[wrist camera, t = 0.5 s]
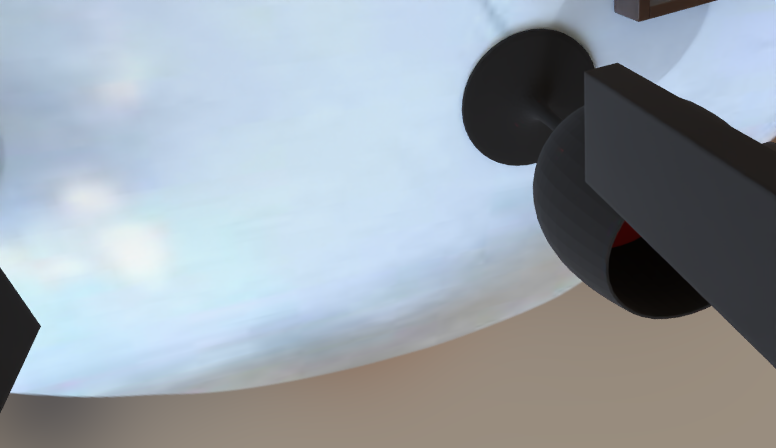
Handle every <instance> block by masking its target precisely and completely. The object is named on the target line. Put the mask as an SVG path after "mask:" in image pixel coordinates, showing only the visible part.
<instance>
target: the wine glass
mask: <svg viewBox="0 0 776 448" xmlns="http://www.w3.org/2000/svg"><path fill="white" fill-rule="evenodd" d="M592 69H595V68H594V65H593V62H592V60H591V58H590V56H589V54H588V53H587V52H586V50H585V49H584V48H583V47H582V46H581V45H580V44H579V43H578V42H577V41H576V40H574V39H573V38H571V37H569V36H567V35H566V34H564V33H561V32H557V31H554V30H547V29H533V30H528V31H524V32H520V33H517V34H515V35H512V36H510V37H508V38H506V39H504V40H503V41H501V42H499V43H498V44H497V45H496V46H494V47H493V48H492V49H490V50H489V51H488V52H487V53H486V54H485V55H484V56H483V57H482V59H481V60H480V61H479V63H478V64H477V65H476V67H475V68H474V70H473V72H472V74H471V75H470V77H469V80H468V82H467V85H466V87H465V91H464V96H463V102H462V116H463V123H464V126H465V130H466V132H467V134H468V136H469V138H470V140H471V141H472V143H473V144H474V146H475V147H476V148H477V149H478V150H479V151H480V152H481V153H482V154H483V155H485V156H486V157H488V158H489V159H491V160H494V161H496V162H498V163H502V164H506V165H515V166H520V165H529V164H534V163H537V165H536V168H535V174H534V181H533V198H534V205H535V210H536V214H537V219H538V221H539V224H540V226H541V229H542V231H543V233H544V235H545V237H546V239H547V241H548V243H549V244H550V246H551V247H552V249H553V250H554V251H555V253H556V254H557V255H558V257H559V258H560V260H561V261H562V262H563V263H564V264H565V265H566V266H567V267H568V268H569V270H571V271H572V272H573V273H574V274H575V275H576V276H577V277H578V278H579V279H581V280H582V281H583V282H584V283H585V284H587V285H588V286H589V287H590V288H592V289H593V290H595V291H596V292H597V293H599V294H600V295H602V296H603V297H605V298H607V299H608V300H610V301H611V302H613V303H615V304H617V305H618V306H620V307H622V308H624V309H625V310H627V311H629V312H631V313H633V314H636V315H639V316H641V317H646V318H651V319H668V318H676V317H682V316H685V315H689V314H693V313H696V312H698V311H701V310H703V309H706V308H708V307H710V306H712V305H711V304H710V303H709V302H708V301H707V300H705V299H704V298H703V297H702V296H701V295H700V294H699V293H698V292H697V291H696V290H695V289H694V288H693V287H692V286H691V285H690V284H689V283H688V282H687V281H686V280H685V279H684V278H683V277H682V276H681V275H680V274H679V273H678V272H677V271H676V270H675V269H674V268H673V267H672V266H671V265H670V264H669V263H668V262H667V261H666V260H665V259H664V258H663V257H662V256H661V255H660V254H659V253H658V252H657V251H656V250H655V249H654V248H652V247H651V246H650V245H649V244H648V243H647V242H646V241H645V240H644V239H643V238H642V237H641V236H640V235H639V234H638V233H637V232H636V231H635V230H634V229H633V228H632V227H631V226H630V225H629V224H628V223H627V222H626V221H625V220H624V219H623V218H622V217H621V216H620V215H619V214H618V213H617V212H616V211H615V210H614V209H613V208H612V207H611V206H610V205H609V204H608V203H607V202H606V201H605V200H604V199H603V198H602V197H601V196H600V195H598V194H597V193H596V192H595V191H594V190H593V189H592V188H591V187H590V186H589V185H588V184H587V183H586V182H585V108H584V71H588V70H592ZM681 99H682V98H681ZM683 100H685V99H683ZM685 101H686V102H688V103H690V104H692V105H694V106H695V107H697V108H699V109H701V110H702V111H704V112H706V113H708V114H710V115H711V116H713V117H715V118H717V119H718V120H720V121H722V122H724V123H726V122H725V121H724V120H722V119H721V118H719V117H718V116H716V115H715V114H713V113H711V112H710V111H708V110H706V109H704V108H703V107H701V106H699V105H697V104H695V103H693V102H691V101H688V100H685ZM726 124H727V123H726ZM727 125H729V124H727ZM729 126H730V125H729Z"/></svg>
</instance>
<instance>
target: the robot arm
mask: <svg viewBox="0 0 776 448" xmlns="http://www.w3.org/2000/svg"><path fill="white" fill-rule="evenodd" d="M584 108H585V182H586V183H587V184H588V185H589V186H590V187H591V188H592V189H593V190H594V191H595V192H596V193H597V194H598V195H600V196H601V197H602V198H603V199H604V200H605V201H606V202H607V203H608V204H609V205H610V206H611V207H612V208H613V209H614V210H615V211H616V212H617V213H618V214H619V215H620V216H621V217H622V218H623V219H624V220H625V221H626V222H627V223H628V224H629V225H630V226H631V227H632V228H633V229H634V230H635V231H636V232H637V233H638V234H639V235H640V236H641V237H642V238H643V239H644V240H645V241H646V242H647V243H648V244H649V245H650V246H651V247H652V248H654V249H655V250H656V251H657V252H658V253H659V254H660V255H661V256H662V257H663V258H664V259H665V260H666V261H667V262H668V263H669V264H670V265H671V266H672V267H673V268H674V269H675V270H676V271H677V272H678V273H679V274H680V275H681V276H682V277H683V278H684V279H685V280H686V281H687V282H688V283H689V284H690V285H691V286H692V287H693V288H694V289H695V290H696V291H697V292H698V293H699V294H700V295H701V296H702V297H703V298H704V299H705V300H707V301H708V302H709V303H710V304H711V305H712V306H713V307H714V308H715V309H716V310H717V311H718V312H719V313H720V314H721V315H722V316H723V317H724V318H725V319H726V320H727V321H728V322H729V323H730V324H731V325H732V326H733V327H734V328H735V329H736V330H737V331H738V332H739V333H740V334H741V335H742V336H743V337H744V338H745V339H746V340H747V341H748V342H749V343H750V344H751V345H752V346H753V347H754V348H755V349H756V350H757V351H758V352H760V353H761V354H762V355H763V356H764V357H765V358H766V359H767V360H768V361H769V362H770V363H771V364H772V365H773V366H774V367H775V368H776V143H774V142H766V143H763V144H761V143H759V142H757V141H756V140H754V139H752V138H750V137H749V136H747V135H745V134H743V133H741V132H740V131H738V130H736V129H734V128H733V127H731V126H729V125H727V124H726V123H724V122H722V121H720V120H718V119H717V118H715V117H713V116H711V115H710V114H708V113H706V112H704V111H702V110H701V109H699V108H697V107H695V106H694V105H692V104H690V103H688V102H686V101H685V100H683V99H681V98H679V97H678V96H676V95H674V94H672V93H670V92H669V91H667V90H665V89H663V88H662V87H660V86H658V85H656V84H654V83H653V82H651V81H649V80H647V79H646V78H644V77H642V76H640V75H638V74H637V73H635V72H633V71H631V70H630V69H628V68H626V67H624V66H622V65H621V64H619V63H615V64H611V65H608V66H604V67H600V68H596V69H592V70H588V71H584ZM40 327H41V326H40V324H39V323H38V321H37V320H36V319H35V317H34V316H33V314H32V313H31V311H30V310H29V308H28V307H27V305H26V304H25V303H24V301H23V300H22V298H21V297H20V295H19V294H18V292H17V291H16V290H15V288H14V287H13V285H12V284H11V282H10V281H9V279H8V278H7V277H6V275H5V274H4V272H3V271H2V269H1V268H0V412H1V410H2V408H3V406H4V404H5V402H6V400H7V398H8V395H9V393H10V391H11V389H12V387H13V385H14V383H15V380H16V378H17V376H18V374H19V372H20V370H21V368H22V365H23V363H24V361H25V359H26V357H27V355H28V353H29V350H30V348H31V346H32V344H33V342H34V340H35V338H36V335H37V333H38V331H39V329H40Z"/></svg>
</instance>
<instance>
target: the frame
mask: <svg viewBox="0 0 776 448" xmlns="http://www.w3.org/2000/svg"><path fill="white" fill-rule="evenodd" d="M713 1H716V0H614V10H615V13H618V14H620V15H623V16H625V17H628V18H630V19H633V20H635V21H638V22H640V21H644V20H647V19H651V18H655V17H659V16H662V15H666V14H669V13H673V12H677V11H680V10H684V9H687V8H691V7H695V6H698V5H702V4H706V3H709V2H713Z"/></svg>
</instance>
